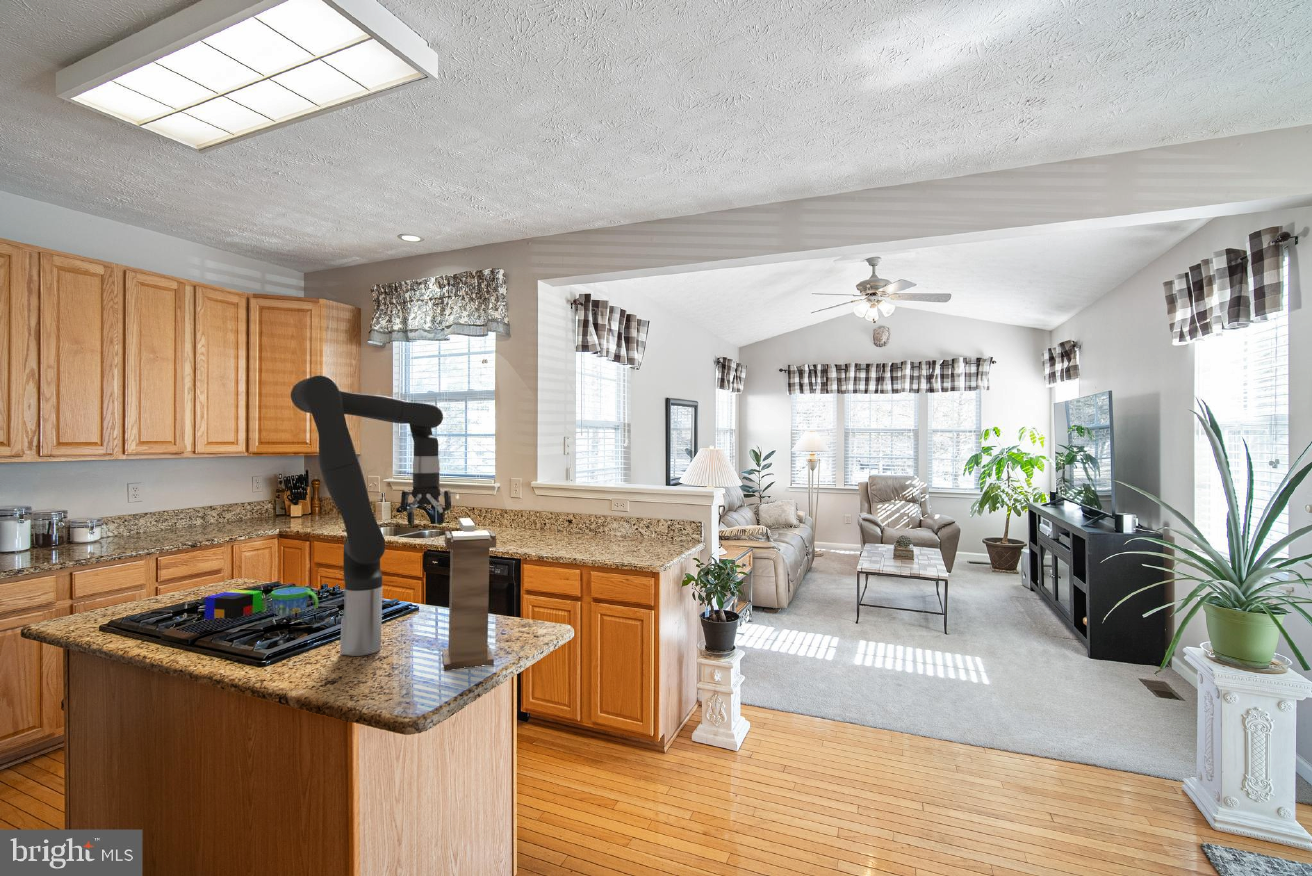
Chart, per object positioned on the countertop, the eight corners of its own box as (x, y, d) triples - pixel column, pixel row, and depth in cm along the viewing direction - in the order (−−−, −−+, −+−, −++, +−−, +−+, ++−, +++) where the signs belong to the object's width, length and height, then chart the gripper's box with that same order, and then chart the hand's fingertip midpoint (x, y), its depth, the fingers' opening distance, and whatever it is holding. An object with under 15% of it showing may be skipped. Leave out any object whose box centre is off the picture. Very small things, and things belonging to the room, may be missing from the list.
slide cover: (448, 527, 173) (448, 518, 173) (480, 526, 176) (480, 517, 176) (453, 540, 149) (453, 530, 149) (490, 538, 152) (490, 528, 152)
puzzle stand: (442, 655, 159) (444, 531, 160) (488, 650, 163) (490, 529, 164) (443, 670, 148) (446, 537, 148) (493, 664, 152) (496, 535, 153)
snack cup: (323, 618, 192) (324, 586, 192) (307, 627, 181) (308, 594, 181) (273, 618, 190) (274, 586, 191) (253, 628, 180) (254, 594, 180)
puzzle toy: (204, 630, 177) (205, 597, 177) (233, 621, 187) (234, 589, 187) (233, 632, 175) (234, 598, 176) (261, 623, 185) (262, 591, 186)
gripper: (397, 472, 175) (397, 527, 175) (446, 471, 176) (446, 526, 176) (406, 470, 183) (406, 523, 183) (453, 470, 183) (453, 522, 183)
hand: (426, 524), depth 179 cm, fingers open, 8 cm apart
